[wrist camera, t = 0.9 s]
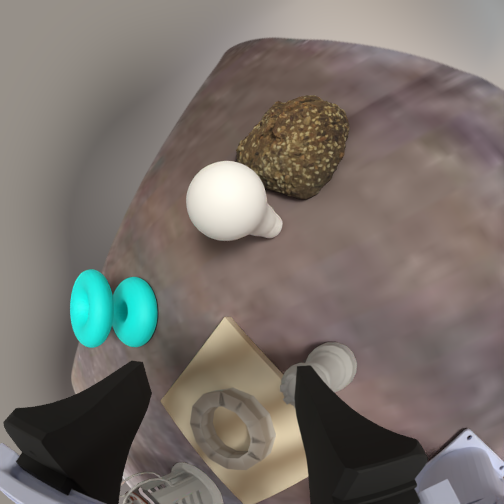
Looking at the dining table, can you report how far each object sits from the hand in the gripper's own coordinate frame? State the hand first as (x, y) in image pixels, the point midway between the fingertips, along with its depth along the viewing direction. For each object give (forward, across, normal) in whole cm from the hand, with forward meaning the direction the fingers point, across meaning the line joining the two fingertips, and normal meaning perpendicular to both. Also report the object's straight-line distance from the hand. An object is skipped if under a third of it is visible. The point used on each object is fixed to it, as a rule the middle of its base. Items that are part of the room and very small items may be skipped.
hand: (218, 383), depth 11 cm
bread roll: (+20, -7, -14) cm, 25 cm away
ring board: (+10, 0, +15) cm, 18 cm away
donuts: (+24, +15, +8) cm, 29 cm away
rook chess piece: (+9, -8, +6) cm, 14 cm away
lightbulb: (+17, -4, -5) cm, 18 cm away
